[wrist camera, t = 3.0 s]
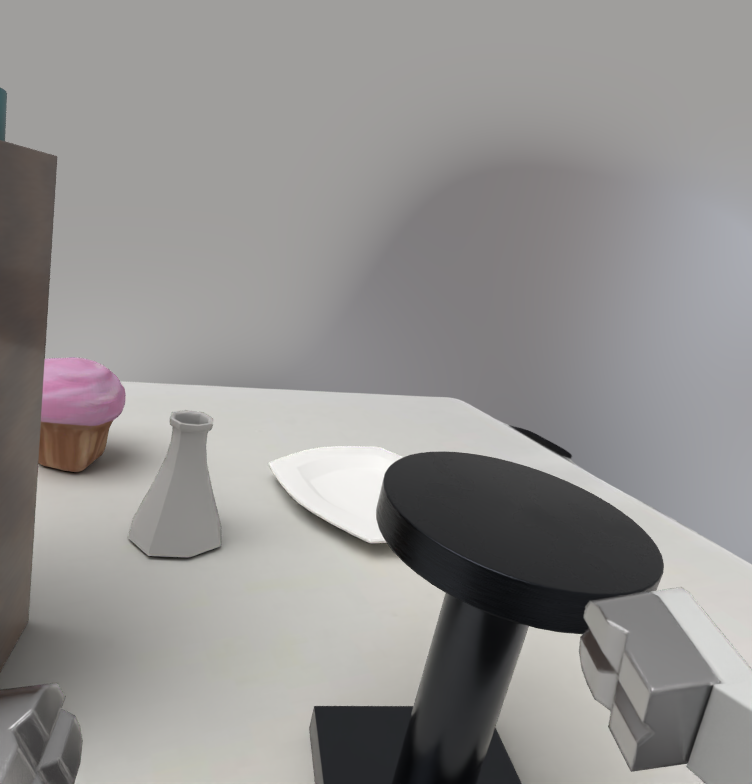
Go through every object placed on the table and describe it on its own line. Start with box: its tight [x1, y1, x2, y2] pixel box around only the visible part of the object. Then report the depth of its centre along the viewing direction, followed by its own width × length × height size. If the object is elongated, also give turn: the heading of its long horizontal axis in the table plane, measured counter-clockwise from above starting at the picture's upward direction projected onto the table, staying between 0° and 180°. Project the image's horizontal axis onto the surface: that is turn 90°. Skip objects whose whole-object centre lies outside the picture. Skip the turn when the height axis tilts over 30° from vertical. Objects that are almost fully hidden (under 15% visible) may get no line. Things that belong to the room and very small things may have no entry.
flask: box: [128, 410, 221, 557], centre depth 43 cm, size 7×7×10 cm
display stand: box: [309, 452, 664, 784], centre depth 25 cm, size 11×11×16 cm
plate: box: [268, 446, 403, 544], centre depth 57 cm, size 19×19×2 cm
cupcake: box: [38, 357, 125, 472], centre depth 51 cm, size 9×9×10 cm
